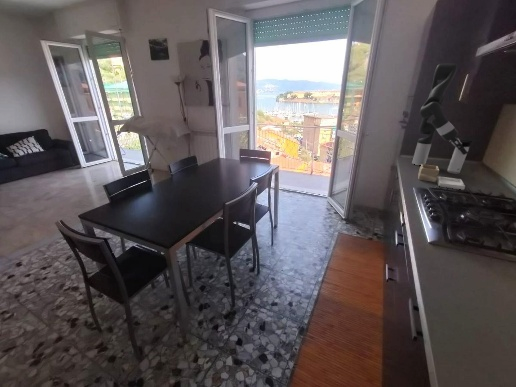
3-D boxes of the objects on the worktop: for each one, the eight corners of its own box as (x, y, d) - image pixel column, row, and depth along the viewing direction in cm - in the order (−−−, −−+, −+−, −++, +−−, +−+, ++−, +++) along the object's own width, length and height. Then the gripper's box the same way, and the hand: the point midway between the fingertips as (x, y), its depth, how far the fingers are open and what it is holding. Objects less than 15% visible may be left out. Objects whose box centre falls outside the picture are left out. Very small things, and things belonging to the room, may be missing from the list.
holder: (417, 174, 167) (421, 164, 163) (434, 177, 162) (437, 166, 159) (418, 179, 158) (421, 168, 155) (435, 182, 154) (439, 170, 151)
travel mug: (460, 174, 142) (472, 141, 134) (446, 172, 146) (458, 140, 137) (460, 171, 147) (472, 140, 138) (447, 169, 150) (458, 138, 142)
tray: (436, 179, 158) (437, 176, 157) (459, 182, 152) (461, 179, 151) (438, 186, 147) (439, 182, 146) (463, 190, 141) (465, 186, 140)
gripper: (456, 128, 133) (474, 151, 132) (452, 125, 144) (469, 146, 143) (441, 137, 137) (459, 159, 137) (438, 133, 148) (455, 153, 148)
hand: (464, 152), depth 140 cm, fingers closed on travel mug, 6 cm apart
